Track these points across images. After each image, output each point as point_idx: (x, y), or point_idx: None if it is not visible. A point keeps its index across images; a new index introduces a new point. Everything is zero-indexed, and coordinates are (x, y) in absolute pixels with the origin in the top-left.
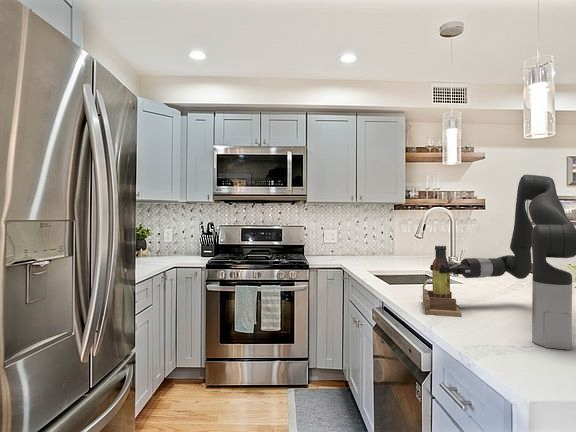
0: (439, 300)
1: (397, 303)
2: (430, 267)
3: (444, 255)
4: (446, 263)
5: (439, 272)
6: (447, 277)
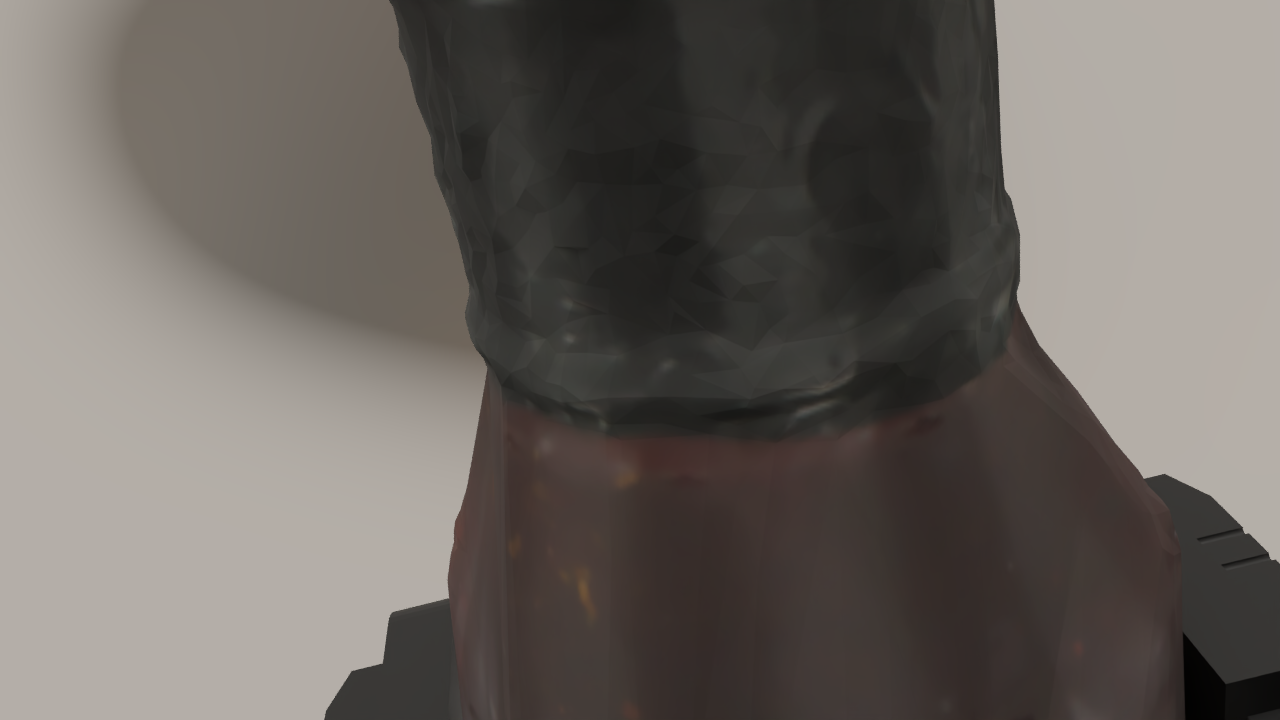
0: None
1: None
2: None
3: (475, 300)
4: (506, 704)
5: None
6: None
